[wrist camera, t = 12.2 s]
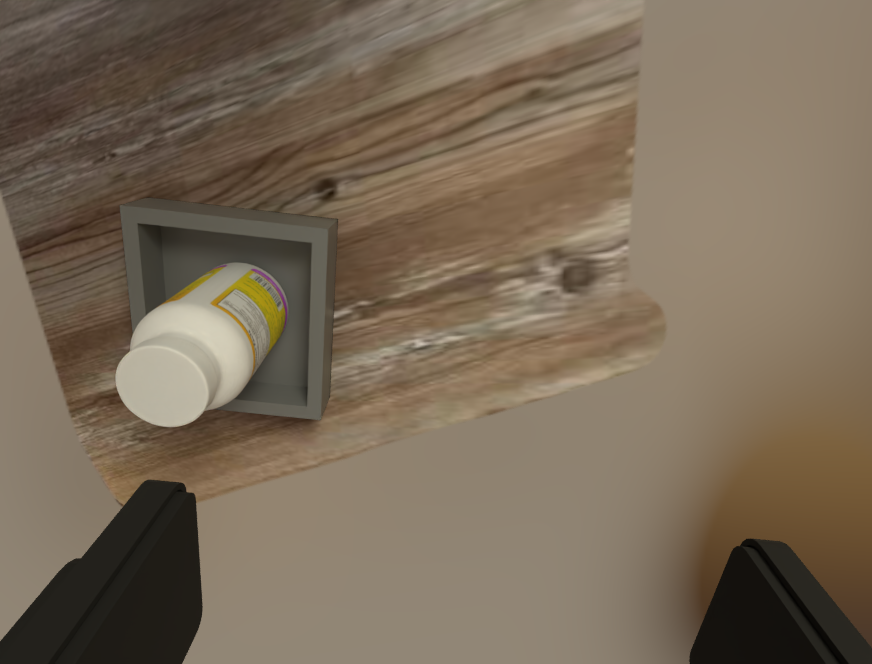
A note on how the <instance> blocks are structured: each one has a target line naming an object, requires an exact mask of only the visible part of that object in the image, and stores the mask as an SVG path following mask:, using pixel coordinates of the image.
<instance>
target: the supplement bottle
mask: <svg viewBox="0 0 872 664" xmlns="http://www.w3.org/2000/svg"><path fill="white" fill-rule="evenodd" d="M287 321H288V302H287V298H286V296H285V293H284V291H283V289H282V288H281V286H280V285H279V283H278V282H277V281H276V280H275V279H274V278H273V277H272V276H271V275H270V274H269V273H267V272H266V271H264V270H262V269H261V268H259V267H256V266H254V265H251V264H247V263H238V262H235V263H227V264H223V265H220V266H217V267H215V268H213V269H212V270H210V271H208V272H207V273H205V274H204V275H203V276H201V277H200V278H198V279H197V280H195V281H194V282H193V283H191V284H190V285H188V286H187V287H186V288H184V289H183V290H181V291H180V292H178V293H177V294H176V295H174V296H173V297H171V298H170V299H168V300H167V301H165V302H164V303H162V304H161V305H159V306H158V307H156V308H155V309H154V310H152V311H151V312H150V313H148V314H147V315H146V316H145V317H144V318H143V319H142V320H141V321H140V323H139V324H138V325H137V327H136V329H135V331H134V333H133V336H132V339H131V344H130V352H129V353H127V354H126V355H125V356H124V357H123V359H122V360H121V361H120V363H119V365H118V367H117V370H116V376H115V380H116V387H117V390H118V393H119V395H120V397H121V399H122V401H123V403H124V404H125V405H126V406H127V408H128V409H129V410H130V411H131V412H133V413H134V414H135V415H136V416H138V417H139V418H141V419H143V420H145V421H147V422H149V423H151V424H154V425H158V426H163V427H178V426H183V425H186V424H189V423H191V422H193V421H194V420H196V419H197V418H198V417H199V416H200V415H201V414H202V413H203V412H204V411H206V410H211V409H215V408H218V407H221V406H223V405H225V404H227V403H229V402H230V401H232V400H233V399H234V398H235V397H237V396H238V395H239V394H240V393H241V391H242V390H243V389H244V387H245V386H246V385H247V383H248V382H249V380H250V379H251V377H252V376H253V375H254V373H255V372H256V370H257V369H258V367H259V366H260V365H261V363H262V362H263V360H264V359H265V357H266V356H267V354H268V353H269V351H270V350H271V349H272V347H273V346H274V344H275V343H276V341H277V340H278V339H279V337H280V336H281V334H282V333H283V331H284V329H285V327H286V324H287Z"/></svg>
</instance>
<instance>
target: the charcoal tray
mask: <svg viewBox="0 0 872 664" xmlns="http://www.w3.org/2000/svg"><path fill="white" fill-rule="evenodd" d="M120 214H121V224H122V234H123V244H124V253H125V263H126V273H127V283H128V292H129V302H130V312H131V321H132V331H133V333H134V331H135V329H136V327H137V325H138V324H139V323H140V321H141V320H142V319H143V318H144V317H145V316H146V315H147V314H148V313H150V312H151V311H152V310H154V309H155V308H156V307H158V306H159V305H161V304H162V303H164V302H165V301H167V300H168V299H170V298H171V297H173V296H174V295H176V294H177V293H178V292H180V291H181V290H183V289H184V288H186V287H187V286H188V285H190V284H191V283H193V282H194V281H195V280H197V279H198V278H200V277H201V276H203V275H204V274H205V273H207V272H208V271H210V270H212V269H213V268H215V267H217V266H220V265H223V264H227V263H235V262H238V263H247V264H251V265H254V266H256V267H259V268H261V269H262V270H264V271H266V272H267V273H269V274H270V275H271V276H272V277H273V278H274V279H275V280H276V281H277V282H278V283H279V285H280V286H281V288H282V289H283V291H284V293H285V296H286V298H287V302H288V321H287V324H286V327H285V329H284V331H283V333H282V334H281V336H280V337H279V339H278V340H277V341H276V343H275V344H274V346H273V347H272V349H271V350H270V351H269V353H268V354H267V356H266V357H265V359H264V360H263V362H262V363H261V365H260V366H259V367H258V369H257V370H256V372H255V373H254V375H253V376H252V377H251V379H250V380H249V382H248V383H247V385H246V386H245V387H244V389H243V390H242V391H241V393H240V394H239V395H238V396H237V397H235V398H234V399H233V400H232V401H230V402H229V403H227V404H225V405H223V406H221V407H218V408H215V409H216V410H226V411H236V412H246V413H255V414H265V415H275V416H285V417H295V418H304V419H314V420H321V418H322V415H323V413H324V410H325V408H326V405H327V403H328V400H329V398H330V382H331V361H332V339H333V317H334V295H335V274H336V252H337V230H338V219H331V218H322V217H313V216H305V215H296V214H287V213H279V212H270V211H261V210H253V209H244V208H235V207H227V206H218V205H209V204H201V203H192V202H183V201H174V200H166V199H157V198H144V199H140V200H137V201H133V202H129V203H126V204H122V205H120Z"/></svg>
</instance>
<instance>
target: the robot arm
mask: <svg viewBox="0 0 872 664" xmlns="http://www.w3.org/2000/svg"><path fill="white" fill-rule="evenodd" d="M201 617H202V592H201V575H200V559H199V544H198V528H197V512H196V498H195V495H194V493H189V492H186V487H185V485H184V484H183V483H179V482H169V481H158V480H147V481H145V482H144V483H142V484H141V485H140V487H139V488H138V489H137V490H136V492H135V493H134V494H133V495H132V497H131V498H130V499H129V500H128V501H127V503H126V504H125V505H124V506H123V508H122V509H121V510H120V511H119V513H118V514H117V515H116V516H115V517H114V519H113V520H112V521H111V522H110V524H109V525H108V526H107V527H106V529H105V530H104V531H103V532H102V533H101V535H100V536H99V537H98V538H97V540H96V541H95V542H94V543H93V544H92V546H91V547H90V548H89V549H88V551H87V552H86V553H85V554H84V556H83V557H82V558H81V559H74V560H72V561H70V562H69V563H67V564H66V565H65V566H64V567H63V568H62V569H61V570H60V571H59V572H58V573H57V575H56V576H55V577H54V578H53V579H52V580H51V582H50V583H49V584H48V585H47V586H46V588H45V589H44V590H43V591H42V592H41V594H40V595H39V596H38V597H37V598H36V600H35V601H34V602H33V603H32V604H31V605H30V607H29V608H28V609H27V610H26V611H25V613H24V614H23V615H22V616H21V617H20V619H19V620H18V621H17V622H16V623H15V625H14V626H13V627H12V628H11V629H10V631H9V632H8V633H7V634H6V635H5V636H4V638H3V639H2V640H1V641H0V664H182V662H183V661H184V658H185V656H186V654H187V652H188V650H189V648H190V646H191V644H192V642H193V639H194V637H195V635H196V633H197V631H198V628H199V625H200V621H201ZM690 664H872V648H871V646H870V645H869V644H868V643H867V642H866V640H865V639H864V638H863V637H862V635H861V634H860V633H859V632H858V631H857V629H856V628H855V627H854V626H853V624H852V623H851V622H850V621H849V619H848V618H847V617H846V616H845V614H844V613H843V612H842V611H841V610H840V608H839V607H838V606H837V605H836V603H835V602H834V601H833V600H832V598H831V597H830V596H829V595H828V594H827V592H826V591H825V590H824V589H823V587H822V586H821V585H820V584H819V582H818V581H817V580H816V579H815V578H814V576H813V575H812V574H811V573H810V571H809V570H808V569H807V568H806V566H805V565H804V564H803V563H802V562H801V560H800V559H799V558H798V557H797V555H796V554H795V553H794V552H793V550H792V549H791V548H790V547H789V546H788V545H787V544H785V543H783V542H780V541H770V540H760V539H746V540H744V541H743V542H742V544H741V545H740V546H737V547H735V548H734V549H733V550H732V552H731V554H730V557H729V559H728V562H727V564H726V567H725V569H724V571H723V574H722V576H721V579H720V581H719V584H718V586H717V588H716V591H715V593H714V596H713V598H712V601H711V603H710V606H709V608H708V610H707V613H706V615H705V618H704V620H703V623H702V625H701V627H700V630H699V632H698V635H697V637H696V640H695V642H694V644H693V647H692V649H691V652H690Z"/></svg>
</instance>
